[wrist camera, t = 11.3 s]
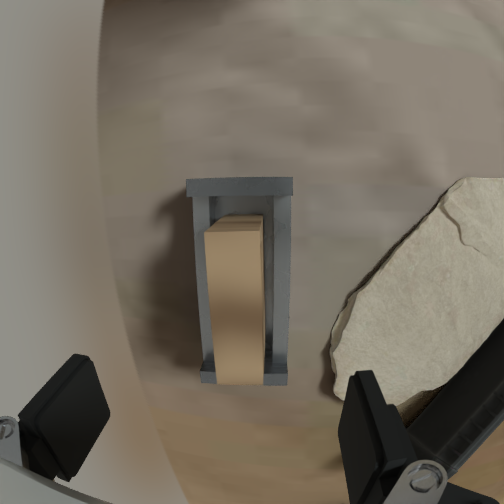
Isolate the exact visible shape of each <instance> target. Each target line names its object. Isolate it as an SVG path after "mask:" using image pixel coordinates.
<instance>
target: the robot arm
mask: <svg viewBox="0 0 504 504" xmlns="http://www.w3.org/2000/svg"><path fill="white" fill-rule="evenodd" d="M18 417H19V419H20V421H19V422H17V421H16V419H14V418H13V417H9V416H2V417H0V504H112V503H109V502H106V501H103V500H100V499H97V498H94V497H91V496H88V495H85V494H83V493H80V492H78V491H75V490H72V489H70V488H68V487H65V486H63V485H61V484H58V483H56V482H55V480H54V478H55V476H57V477H58V478H60V479H62V480H65V481H67V482H69V481H70V480H71V478H72V477H74V476H76V474H77V473H78V471H79V469H80V467H81V466H82V464H83V462H84V461H85V459H86V457H87V455H88V454H89V452H90V450H91V448H92V447H93V445H94V443H95V442H96V440H97V438H98V437H99V435H100V433H101V432H102V430H103V428H104V426H105V425H106V423H107V421H108V420H109V417H110V410H109V407H108V404H107V402H106V399H105V396H104V393H103V390H102V388H101V385H100V382H99V379H98V376H97V373H96V370H95V367H94V364H93V362H92V361H91V360H90V358H89V357H88V356H85V355H80V354H73V355H72V356H71V357H70V358H69V359H68V361H66V363H65V364H64V365H63V366H62V367H61V368H60V369H59V370H58V371H57V372H56V373H55V374H54V375H53V376H52V377H51V379H50V380H49V381H48V382H47V383H46V384H45V385H44V386H43V387H42V389H40V391H39V392H38V393H37V394H36V395H35V396H34V397H33V398H32V399H31V401H30V402H29V403H28V404H27V405H26V406H25V407H24V408H23V410H22V411H21V412H20V413H19V414H18ZM338 437H339V443H340V448H341V454H342V459H343V465H344V470H345V476H346V482H347V488H348V494H349V500H350V504H499V502H498V501H497V500H495V499H493V498H491V497H488V496H485V495H482V494H479V493H476V492H473V491H470V490H468V489H465V488H462V487H459V486H457V485H454V484H452V483H449V482H447V480H448V477H447V472H446V471H445V469H444V468H443V467H442V466H441V465H440V464H439V463H437V462H435V461H431V460H419V461H418V459H417V456H416V454H415V451H414V449H413V446H412V444H411V441H410V439H409V436H408V434H407V432H406V429H405V427H404V424H403V422H402V420H401V417H400V415H399V412H398V410H397V408H396V406H395V405H394V404H386V401H385V399H384V396H383V394H382V391H381V389H380V386H379V384H378V382H377V379H376V377H375V375H374V372H373V371H372V370H362V371H356V372H355V374H354V375H351V376H350V377H349V381H348V386H347V391H346V396H345V400H344V405H343V410H342V414H341V418H340V423H339V427H338Z"/></svg>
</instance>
